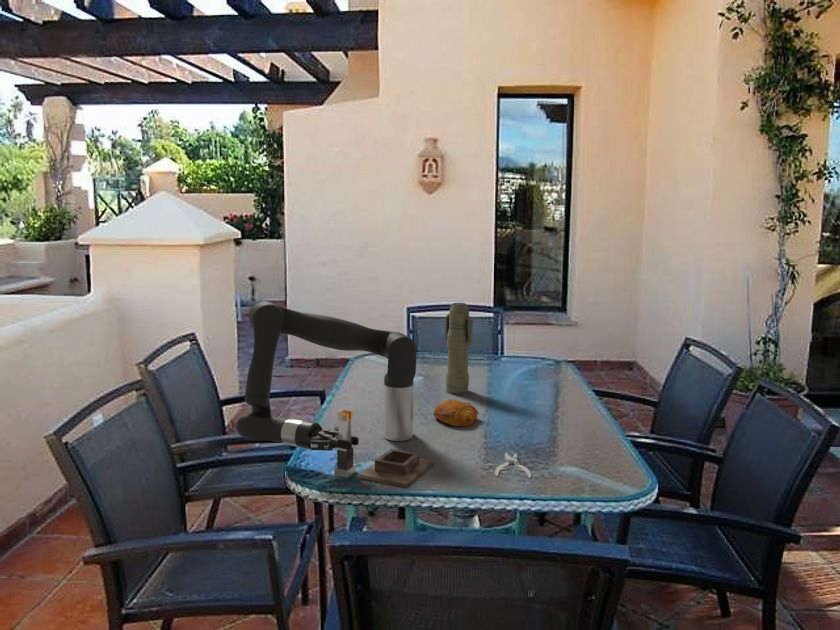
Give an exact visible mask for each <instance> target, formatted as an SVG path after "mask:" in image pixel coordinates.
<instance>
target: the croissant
mask: <svg viewBox="0 0 840 630" xmlns="http://www.w3.org/2000/svg"><path fill="white" fill-rule="evenodd" d="M478 415H479V410H478V409H477V408H476V407H475V406H474V405H473V404H470V403H467V402H465V401H462V400H457V399H448V400H444V401H442V402H440V403H438V404H437V405H436V406H435V408H434V410H433V417H434V418H436V420H439V421H441V422H443V423H445V424H447V425H450V426H453V427H467V426H469V425H472V424H474V422H476V421H477V420H478Z"/></svg>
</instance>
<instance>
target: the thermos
mask: <svg viewBox="0 0 840 630" xmlns="http://www.w3.org/2000/svg"><path fill="white" fill-rule="evenodd" d="M473 324H474V320H473V318H472V317H471V316H470V310H469V306H468V304H466V303H464V302H453V303H452V304H451V306H450V307H449V314H446V317H445V340H446V347H447V372H446V375H445V386H446V387H445V388H446V390H445V392H446V393H447V394H451V395H465V394H467V393H469V386H470V381H469V380H470V374H469V350H470V349H471V348H470V345H471V343H472V342H473V327H474V326H473Z"/></svg>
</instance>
